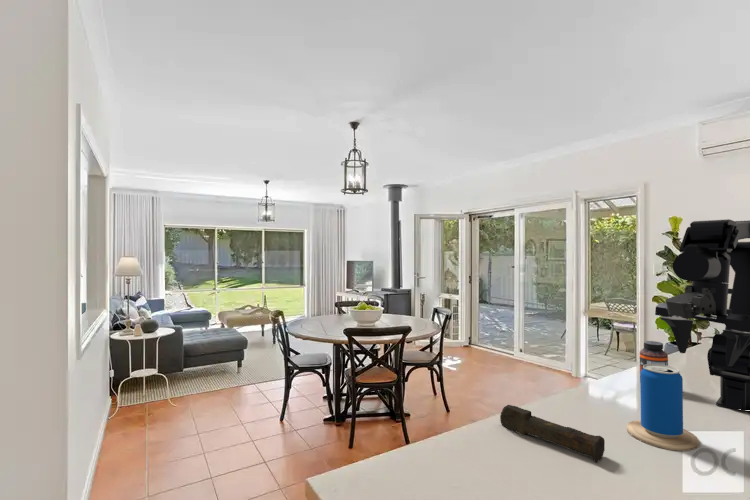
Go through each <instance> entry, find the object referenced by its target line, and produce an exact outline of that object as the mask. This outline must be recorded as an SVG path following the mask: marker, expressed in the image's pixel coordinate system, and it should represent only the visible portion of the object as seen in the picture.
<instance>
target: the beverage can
mask: <svg viewBox="0 0 750 500" xmlns="http://www.w3.org/2000/svg"><path fill="white" fill-rule="evenodd" d="M683 380H684V378H683V376H682V375H681V373H680V370H679V369H678V368H676V367H673V366H670V365H668V366H666V365H659V364H646V365H643V369H642V370H641V372H640V371H639V384H640V387H639V388H640V420H641V425H642V427H644V428H645V429H646V430H647V431H648V432H649V433H651V434H653V435H656V436H660V437H665V438H676V437H678V436H679V435H682V434H683V429H684V392H683V391H684V389H683V386H684V385H683V383H684V381H683Z"/></svg>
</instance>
